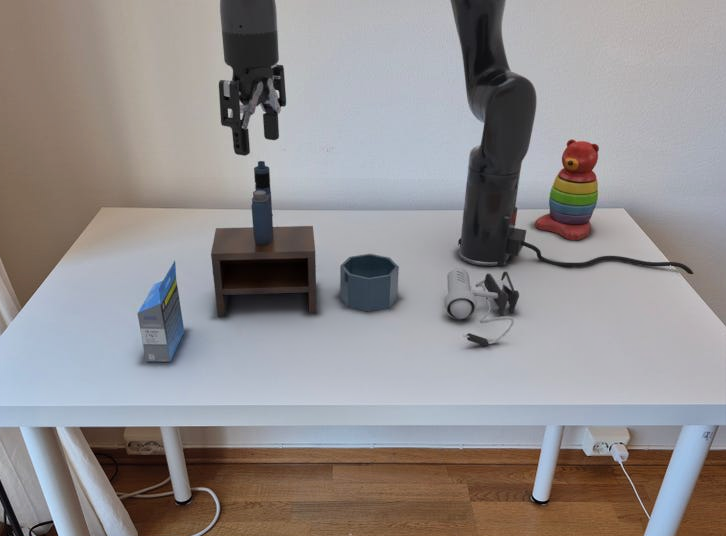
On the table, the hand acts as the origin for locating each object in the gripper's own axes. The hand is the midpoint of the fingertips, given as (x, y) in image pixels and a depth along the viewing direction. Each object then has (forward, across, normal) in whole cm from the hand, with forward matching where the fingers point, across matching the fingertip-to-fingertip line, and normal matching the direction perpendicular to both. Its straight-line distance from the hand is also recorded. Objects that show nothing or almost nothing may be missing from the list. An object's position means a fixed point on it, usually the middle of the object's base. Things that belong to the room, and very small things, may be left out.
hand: (257, 146), depth 104 cm
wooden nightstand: (+26, 0, 0) cm, 26 cm away
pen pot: (+26, +8, -15) cm, 31 cm away
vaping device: (+15, 0, 0) cm, 15 cm away
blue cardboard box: (+26, -19, +7) cm, 33 cm away
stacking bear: (+26, +54, -40) cm, 72 cm away
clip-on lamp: (+26, +9, -34) cm, 44 cm away
